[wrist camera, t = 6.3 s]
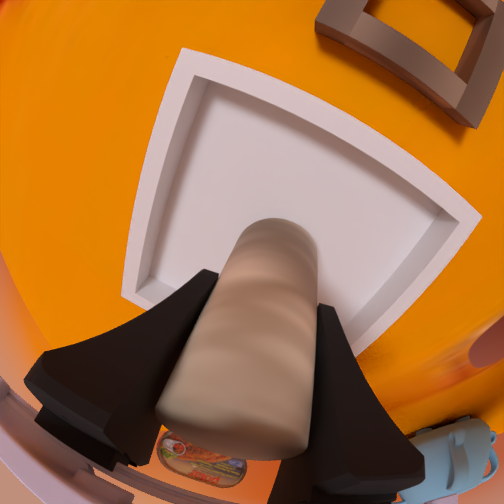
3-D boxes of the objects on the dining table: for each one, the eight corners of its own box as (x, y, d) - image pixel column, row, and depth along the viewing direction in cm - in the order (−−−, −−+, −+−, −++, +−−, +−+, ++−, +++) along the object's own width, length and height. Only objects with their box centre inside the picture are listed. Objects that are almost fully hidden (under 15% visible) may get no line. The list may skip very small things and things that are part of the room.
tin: (252, 451, 37) (241, 493, 30) (242, 453, 39) (231, 493, 32) (171, 417, 35) (152, 462, 28) (165, 420, 37) (147, 462, 30)
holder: (500, 21, 5) (518, 18, 4) (457, 123, 10) (476, 129, 8) (371, -67, 5) (377, -83, 3) (314, 31, 9) (315, 20, 8)
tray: (457, 194, 12) (482, 216, 9) (322, 353, 20) (320, 385, 18) (207, 55, 11) (182, 47, 8) (142, 270, 19) (121, 296, 17)
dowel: (329, 233, 12) (336, 428, 5) (301, 297, 14) (279, 467, 7) (245, 207, 12) (149, 376, 5) (229, 275, 15) (159, 433, 7)
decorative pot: (468, 396, 21) (482, 495, 10) (496, 415, 23) (506, 485, 12) (369, 444, 30) (363, 525, 19) (418, 454, 32) (418, 517, 21)
